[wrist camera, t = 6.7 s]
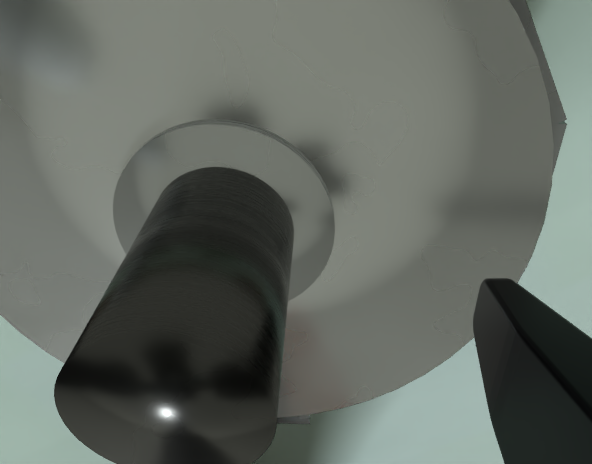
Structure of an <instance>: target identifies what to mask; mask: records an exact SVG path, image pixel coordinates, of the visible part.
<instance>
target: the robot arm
mask: <svg viewBox="0 0 592 464" xmlns="http://www.w3.org/2000/svg"><path fill="white" fill-rule="evenodd" d="M473 332H474V337H475V342H476V347H477V353H478V358H479V363H480V368H481V373H482V378H483V383H484V388H485V393H486V399H487V404H488V408H489V413H490V418H491V421H492V425H493V428H494V432H495V435H496V438H497V441H498V444H499V448H500V451H501V454H502V457H503V460H504V463H505V464H592V338H591V337H589V336H588V335H586V334H585V333H584V332H582V331H581V330H580V329H578V328H577V327H576V326H574V325H573V324H572V323H570V322H569V321H568V320H566V319H565V318H563V317H562V316H561V315H559V314H558V313H557V312H555V311H554V310H553V309H551V308H550V307H549V306H547V305H546V304H545V303H543V302H542V301H540V300H539V299H538V298H536V297H535V296H534V295H532V294H531V293H530V292H528V291H527V290H526V289H524V288H523V287H522V286H520V285H519V284H517V283H516V282H515V281H513V280H511V279H508V278H486V279H484V280H483V281H482V283H481V285H480V288H479V293H478V297H477V302H476V307H475V311H474V316H473Z"/></svg>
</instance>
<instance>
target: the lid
mask: <svg viewBox="0 0 592 464" xmlns="http://www.w3.org/2000/svg"><path fill="white" fill-rule="evenodd" d="M553 151H554V142H553V133H552V123H551V114H550V104H549V100H548V96H547V92H546V88H545V85H544V81H543V77H542V74H541V70H540V66H539V62H538V59H537V56H536V54H535V52H534V50H533V47H532V45H531V43H530V41H529V38H528V36H527V34H526V32H525V29H524V27H523V25H522V23H521V20H520V18H519V16H518V14H517V12H516V11H515V9H514V8H513V6H512V5H511V3H510V2H509V0H0V315H1V316H2V317H3V318H5V319H6V320H7V321H8V322H9V323H10V324H11V325H12V326H13V327H15V328H16V329H17V330H18V331H19V332H20V333H22V334H23V335H24V336H26V337H27V338H28V339H30V340H31V341H32V342H34V343H35V344H36V345H38V346H39V347H40V348H42V349H43V350H44V351H46V352H47V353H49V354H50V355H52V356H54V357H55V358H57V359H58V360H60V361H62V362H63V363H65V364H64V366H63V367H62V369H61V371H60V373H59V375H58V377H57V380H56V383H55V389H54V397H55V404H56V407H57V410H58V413H59V415H60V417H61V418H62V420H63V422H64V424H65V425H66V426H67V428H68V429H69V430H70V431H71V433H72V434H73V435H74V436H75V437H76V438H77V439H78V440H80V441H81V442H82V443H83V444H84V445H86V446H87V447H88V448H90V449H91V450H93V451H94V452H95V453H97V454H99V455H100V456H102V457H104V458H106V459H108V460H110V461H112V462H114V463H116V464H251V463H252V462H254V461H255V460H257V459H258V458H259V457H260V456H261V455H262V454H263V453H264V452H265V451H266V450H267V449H268V447H269V446H270V444H271V442H272V440H273V438H274V435H275V431H276V425H277V418H281V417H291V416H300V415H310V414H316V413H321V412H326V411H331V410H336V409H341V408H344V407H348V406H351V405H355V404H358V403H361V402H365V401H368V400H371V399H373V398H376V397H378V396H381V395H383V394H386V393H388V392H391V391H393V390H396V389H398V388H400V387H402V386H404V385H406V384H408V383H410V382H412V381H413V380H415V379H417V378H419V377H421V376H423V375H425V374H426V373H428V372H429V371H431V370H432V369H434V368H435V367H437V366H438V365H440V364H441V363H443V362H444V361H446V360H447V359H449V358H450V357H451V356H453V355H454V354H455V353H456V352H457V351H459V350H460V349H461V348H462V347H463V346H464V345H466V344H467V343H468V342H469V341H470V340H472V339H473V338H474V332H473V316H474V311H475V307H476V302H477V297H478V293H479V288H480V285H481V283H482V281H483V280H484V279H486V278H508V279H511V280H513V281H515V282H516V283H518V281H519V279H520V277H521V276H522V274H523V272H524V270H525V268H526V266H527V264H528V262H529V261H530V259H531V257H532V254H533V252H534V249H535V246H536V243H537V241H538V238H539V235H540V232H541V230H542V227H543V224H544V221H545V216H546V211H547V206H548V201H549V196H550V191H551V186H552V170H553Z"/></svg>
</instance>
